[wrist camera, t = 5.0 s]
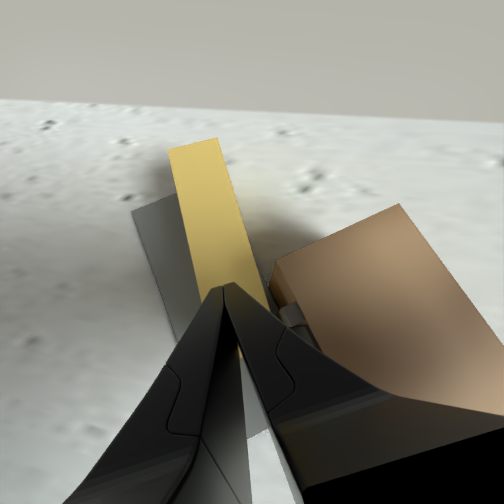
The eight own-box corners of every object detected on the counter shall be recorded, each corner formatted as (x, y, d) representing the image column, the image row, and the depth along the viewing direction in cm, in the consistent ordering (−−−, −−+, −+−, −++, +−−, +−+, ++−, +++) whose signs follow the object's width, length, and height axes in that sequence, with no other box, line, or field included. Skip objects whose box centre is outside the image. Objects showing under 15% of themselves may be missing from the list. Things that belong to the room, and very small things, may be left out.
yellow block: (280, 345, 11) (217, 137, 15) (215, 365, 11) (167, 149, 14) (274, 341, 15) (225, 177, 18) (226, 356, 15) (186, 187, 18)
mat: (320, 396, 14) (322, 398, 14) (219, 451, 14) (217, 455, 13) (214, 181, 19) (214, 177, 18) (134, 213, 18) (131, 211, 18)
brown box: (439, 399, 14) (581, 452, 8) (340, 457, 13) (411, 565, 7) (347, 249, 17) (398, 203, 11) (260, 290, 16) (262, 266, 10)
